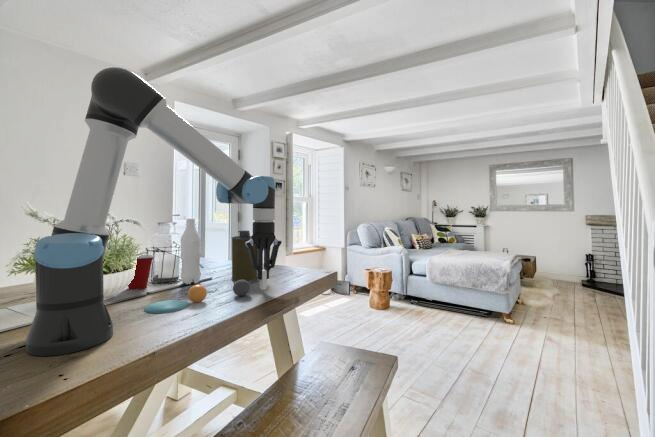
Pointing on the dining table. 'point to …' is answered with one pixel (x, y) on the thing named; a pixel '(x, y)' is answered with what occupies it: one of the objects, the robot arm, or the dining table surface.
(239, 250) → the canister
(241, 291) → the dark gray ball
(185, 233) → the water bottle
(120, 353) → the dining table surface
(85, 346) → the robot arm
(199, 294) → the orange ball
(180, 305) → the teal mark
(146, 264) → the plastic cup
